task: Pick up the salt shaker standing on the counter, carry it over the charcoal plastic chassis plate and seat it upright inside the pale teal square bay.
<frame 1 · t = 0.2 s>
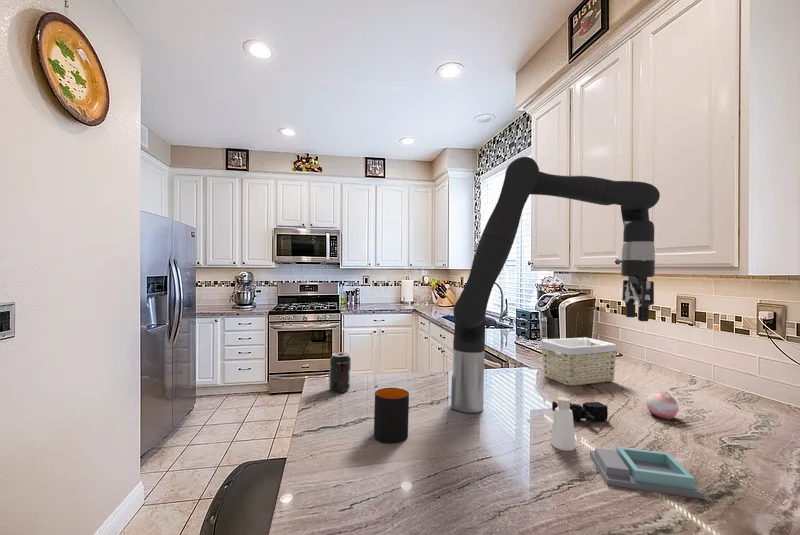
hand: (636, 319, 98), 29 cm above the countertop, fingers open, 8 cm apart
onion: (661, 417, 105), on the countertop
chassis: (640, 474, 74), on the countertop
salt shaker: (562, 446, 86), on the countertop
beverage can: (339, 390, 121), on the countertop
mug: (388, 433, 90), on the countertop
toy: (580, 420, 101), on the countertop
storage basket: (577, 379, 142), on the countertop
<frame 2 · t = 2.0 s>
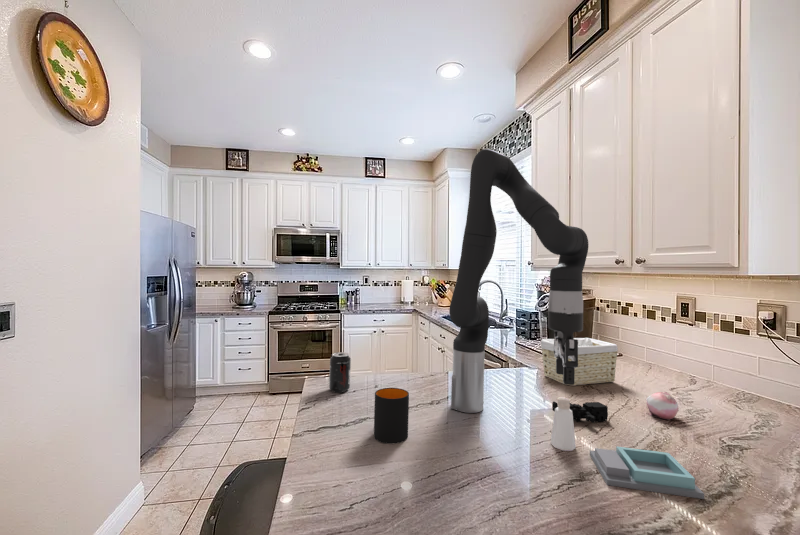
hand: (564, 378, 86), 16 cm above the countertop, fingers open, 8 cm apart
nothing on the countertop moved.
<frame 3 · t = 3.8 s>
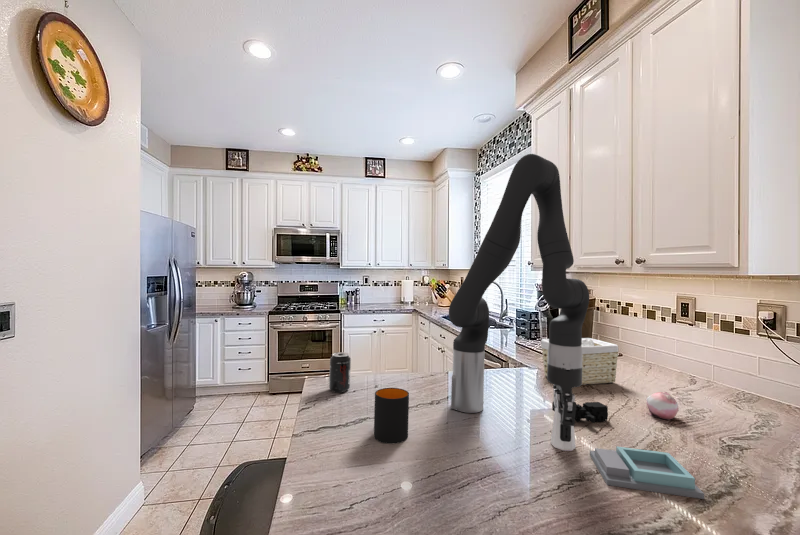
hand: (563, 435, 86), 2 cm above the countertop, fingers closed on salt shaker, 4 cm apart
salt shaker: (562, 446, 86), on the countertop, touching gripper
everything else where it was.
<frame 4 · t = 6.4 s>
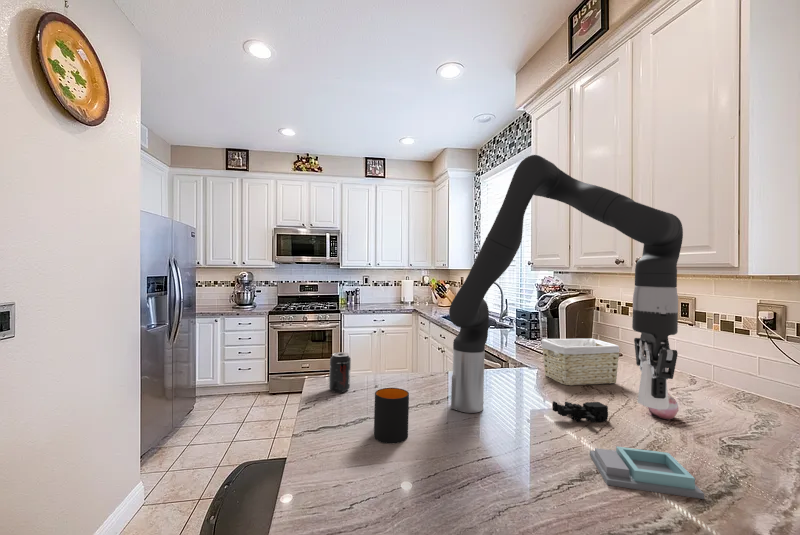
hand: (652, 393, 74), 17 cm above the countertop, fingers closed on salt shaker, 4 cm apart
salt shaker: (652, 405, 74), point 14 cm above the countertop, touching gripper
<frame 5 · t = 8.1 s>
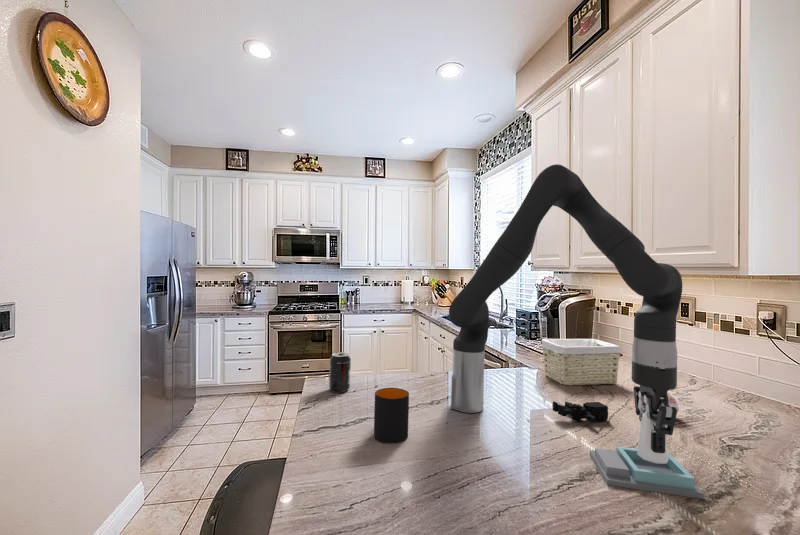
hand: (652, 445, 73), 6 cm above the countertop, fingers closed on salt shaker, 4 cm apart
salt shaker: (652, 458, 73), point 4 cm above the countertop, touching gripper
when the fingers open (5 cm above the countertop, at t = 9.2 s): salt shaker drops 1 cm, resting on chassis.
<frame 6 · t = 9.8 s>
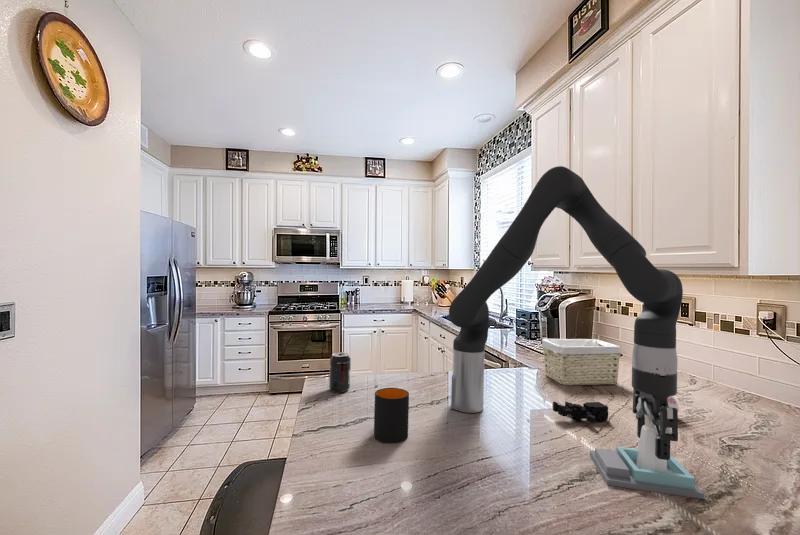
hand: (652, 448, 73), 6 cm above the countertop, fingers open, 8 cm apart
salt shaker: (651, 471, 73), point 1 cm above the countertop, touching chassis
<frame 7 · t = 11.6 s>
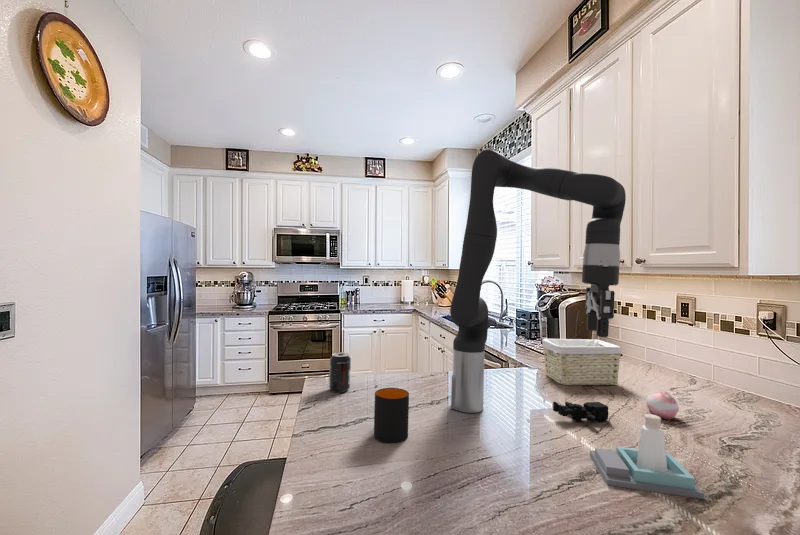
hand: (596, 333, 85), 27 cm above the countertop, fingers open, 8 cm apart
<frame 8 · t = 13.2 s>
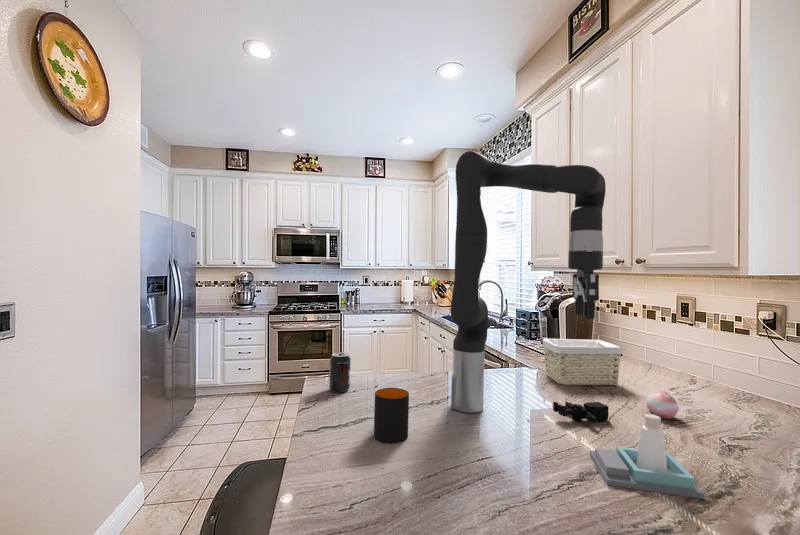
hand: (584, 316, 89), 30 cm above the countertop, fingers open, 8 cm apart
at the end: salt shaker 0.1 cm from the target spot on the chassis, point 0.8 cm above the chassis's base; salt shaker tilted 0°; the gripper is holding nothing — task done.
